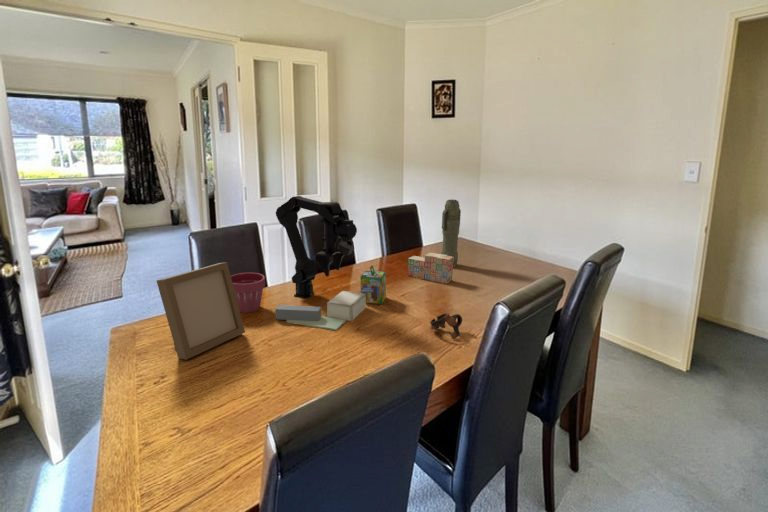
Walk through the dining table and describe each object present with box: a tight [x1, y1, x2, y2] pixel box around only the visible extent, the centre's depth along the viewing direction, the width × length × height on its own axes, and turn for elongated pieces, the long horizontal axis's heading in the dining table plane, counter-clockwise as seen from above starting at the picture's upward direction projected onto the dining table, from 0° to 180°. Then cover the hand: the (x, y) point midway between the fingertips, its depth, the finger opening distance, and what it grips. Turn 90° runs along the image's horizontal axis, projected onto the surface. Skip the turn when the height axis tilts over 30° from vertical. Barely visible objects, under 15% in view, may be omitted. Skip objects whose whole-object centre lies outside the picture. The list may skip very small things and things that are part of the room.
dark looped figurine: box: [429, 312, 463, 340], centre depth 146 cm, size 12×10×8 cm
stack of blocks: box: [407, 252, 454, 285], centre depth 202 cm, size 21×6×12 cm, turn 57°
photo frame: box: [156, 261, 246, 360], centre depth 134 cm, size 15×22×25 cm
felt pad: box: [285, 315, 347, 331], centre depth 153 cm, size 20×8×1 cm, turn 71°
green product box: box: [359, 264, 387, 305], centre depth 173 cm, size 9×9×15 cm
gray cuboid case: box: [326, 290, 367, 322], centre depth 162 cm, size 10×14×6 cm
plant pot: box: [231, 272, 266, 314], centre depth 163 cm, size 14×14×13 cm
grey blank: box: [274, 304, 322, 321], centre depth 155 cm, size 16×4×4 cm, turn 85°
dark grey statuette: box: [440, 199, 462, 268], centre depth 221 cm, size 9×12×35 cm
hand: (332, 273), depth 168 cm, fingers open, 9 cm apart
